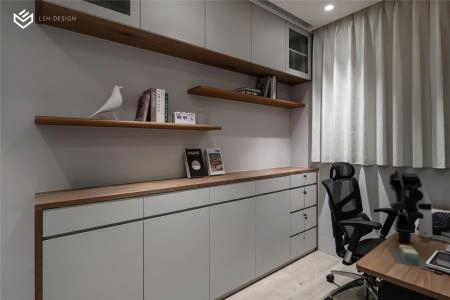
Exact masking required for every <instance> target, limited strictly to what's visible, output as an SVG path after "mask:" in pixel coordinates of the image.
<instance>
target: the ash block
mask: <svg viewBox="0 0 450 300" xmlns="http://www.w3.org/2000/svg"><path fill="white" fill-rule="evenodd" d="M398 248H399V249H398V251H400V256H401V258H402V259H403V261H404V262H405V264H404V265H406V264H410V265H409V266H413V265H417V266H416V267H420V266H419V256H420V254H419V253H418V252H417V251H416V250H415V247H413V246H411V245H404V244H399V247H398Z"/></svg>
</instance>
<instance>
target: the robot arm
mask: <svg viewBox="0 0 450 300" xmlns="http://www.w3.org/2000/svg"><path fill="white" fill-rule="evenodd" d="M388 185H389V186H390V189H391V190H392V191H393V192H394V197H395V202H392V203H389V205H390V208H391V211H392V212H397V213H398V214H397V217H396V219H395V222H394V225H393V227H394V231H395V232H396V233H397V238H395V240H396V241H397V242H398V243H399V244H403V245H404V244H406V245H414V243H413V242H412V239H411V238H412V237H411V235H412V234H415V233H416V228H417V225H416V222H417V221H418V218H419V219H424V215H423V214H422V213H421V212H419V211H418V204H419V202H421V201H422V200H423V199H424V193H423V192H422V191H421V190H420V189H421V188H422V186H423V183H422V180H421V177H420V176H419V175H418V174H417V173H411V172H410V173H409V172H406V171H405V170H403V169H402V170H401V169H400V170H399V169H398V170H397V169H396V170H394V171H393V173H392V174H391V175H389V178H388Z"/></svg>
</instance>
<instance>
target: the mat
mask: <svg viewBox="0 0 450 300" xmlns="http://www.w3.org/2000/svg"><path fill="white" fill-rule="evenodd" d="M388 251H389V253H390V254H391V256H392V258H393V259H394V261H395V263H396V264H401V265H407V266H411V265H410V264H405V262H404V261H403V259H402V258H401V256H400V250H396V249H388ZM412 266H415V267H420V268H429V269H430V266H429V265H428V264H427V263H426V262H425V261H424V259H423V258H422V257H421V255H419V266H417V265H412Z"/></svg>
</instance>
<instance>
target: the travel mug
mask: <svg viewBox="0 0 450 300" xmlns="http://www.w3.org/2000/svg"><path fill="white" fill-rule="evenodd" d="M432 205H433V204H432V203H417V208H418V211H419V212H421V213H422V214H423V215H424V219H419V218H418V219H417V221H418V223H417V224H418V236H419V237H421V238H424V239H432V238H433V215H432V213H433V211H432V207H433V206H432Z"/></svg>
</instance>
